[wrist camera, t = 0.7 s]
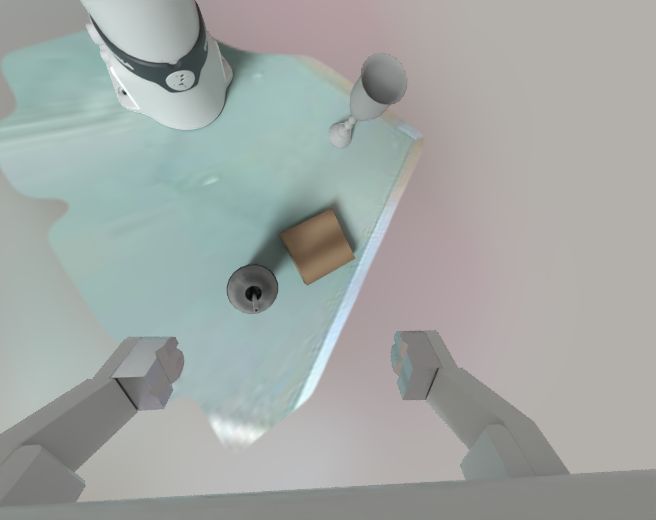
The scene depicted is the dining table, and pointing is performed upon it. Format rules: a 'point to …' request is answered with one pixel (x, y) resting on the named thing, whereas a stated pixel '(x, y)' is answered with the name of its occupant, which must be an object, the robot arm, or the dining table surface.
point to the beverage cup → (252, 289)
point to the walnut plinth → (317, 246)
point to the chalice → (371, 94)
